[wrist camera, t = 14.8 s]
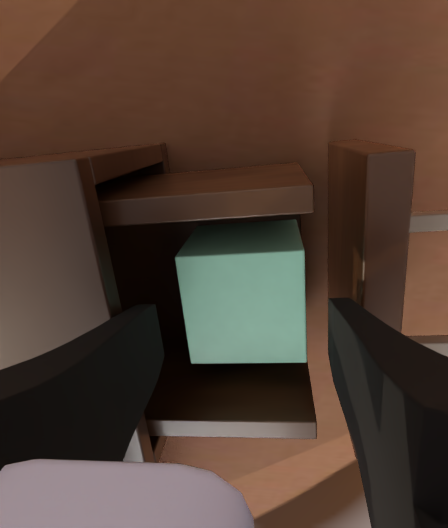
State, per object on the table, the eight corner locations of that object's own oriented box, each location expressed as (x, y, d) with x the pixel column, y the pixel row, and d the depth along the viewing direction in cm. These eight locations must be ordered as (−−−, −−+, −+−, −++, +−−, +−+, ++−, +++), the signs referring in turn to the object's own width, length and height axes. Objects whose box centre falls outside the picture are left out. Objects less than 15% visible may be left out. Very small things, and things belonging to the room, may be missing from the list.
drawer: (484, 126, 15) (644, 129, 8) (453, 347, 18) (549, 465, 12) (81, 165, 17) (-29, 188, 11) (123, 352, 21) (59, 452, 14)
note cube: (296, 219, 16) (304, 250, 12) (299, 309, 17) (307, 363, 13) (196, 225, 16) (174, 257, 13) (207, 312, 18) (190, 364, 14)
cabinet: (165, 142, 17) (75, 158, 9) (195, 351, 21) (150, 487, 13) (-84, 167, 19) (-335, 198, 11) (-14, 354, 23) (-162, 474, 15)
